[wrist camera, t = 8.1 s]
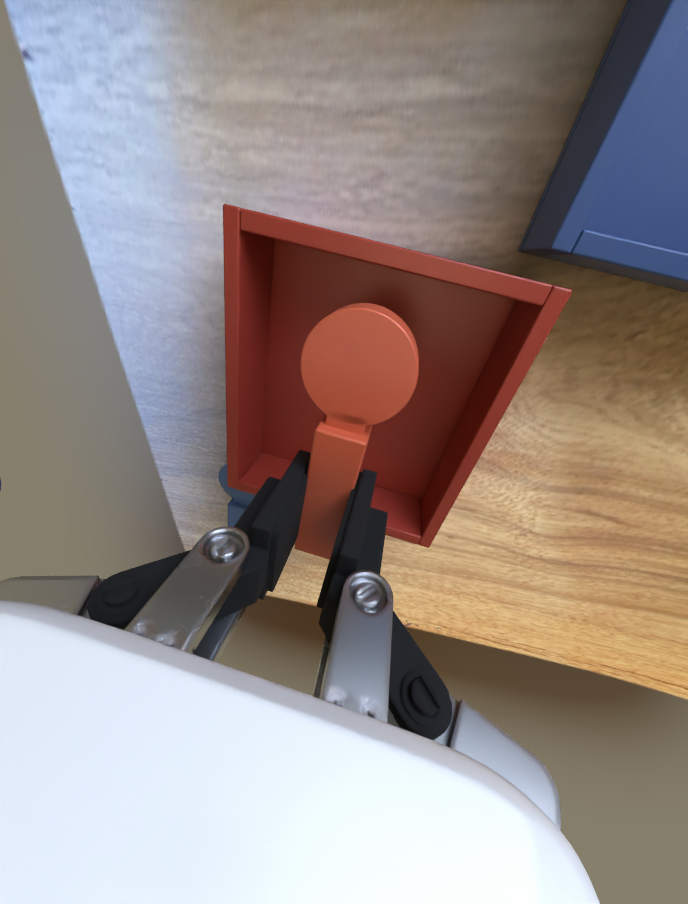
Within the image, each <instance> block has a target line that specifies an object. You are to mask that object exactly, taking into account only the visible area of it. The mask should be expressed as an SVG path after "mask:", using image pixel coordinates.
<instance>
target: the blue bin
mask: <svg viewBox="0 0 688 904" xmlns="http://www.w3.org/2000/svg"><path fill="white" fill-rule="evenodd" d="M518 251H520V252H524V253H528V254H532V255H536V256H540V257H544V258H548V259H553V260H557V261H561V262H565V263H569V264H573V265H577V266H581V267H585V268H590V269H594V270H598V271H602V272H606V273H610V274H614V275H618V276H623V277H627V278H631V279H635V280H639V281H643V282H647V283H651V284H656V285H660V286H664V287H668V288H672V289H676V290H680V291H684V292H688V0H628V2H627V4H626V6H625V9H624V11H623V13H622V15H621V18H620V20H619V22H618V25H617V27H616V29H615V31H614V34H613V36H612V38H611V40H610V43H609V45H608V47H607V50H606V52H605V54H604V56H603V59H602V61H601V63H600V65H599V68H598V70H597V72H596V74H595V77H594V79H593V81H592V84H591V86H590V88H589V90H588V93H587V95H586V97H585V99H584V102H583V104H582V106H581V109H580V111H579V113H578V115H577V118H576V120H575V122H574V124H573V127H572V129H571V131H570V133H569V136H568V138H567V140H566V143H565V145H564V147H563V149H562V152H561V154H560V156H559V158H558V161H557V163H556V165H555V168H554V170H553V172H552V174H551V177H550V179H549V181H548V183H547V186H546V188H545V190H544V192H543V195H542V197H541V199H540V202H539V204H538V206H537V208H536V211H535V213H534V215H533V217H532V220H531V222H530V224H529V227H528V229H527V231H526V233H525V236H524V238H523V240H522V242H521V245H520V247H519V250H518Z"/></svg>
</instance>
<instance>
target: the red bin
mask: <svg viewBox="0 0 688 904" xmlns="http://www.w3.org/2000/svg"><path fill="white" fill-rule="evenodd" d="M223 233H224V296H225V360H226V424H227V486H228V487H231V488H234V489H238V490H240V491H244V492H247V493H250V494H254V495H256V494H257V493H258V491H259V490H260V488H261V487H262V485H263V484H264V483H265V481H266V480H267V479H268V477H274V478H277V479H280V480H281V478H282V476H283V475H284V473H285V472H286V470H287V469H288V467H289V465H290V464H291V462H292V461H293V459H294V458H295V456H296V454H297V453H298V451H299V450H303V451H306V452H310V453H311V450H312V444H313V438H314V433H315V429H316V428H317V426H318V424H319V423H320V421H321V419H322V417H323V416H324V414H325V413H324V412H323V411H321V410H320V409H319V408H318V407H317V406H316V405H315V403H314V402H313V401H312V399H311V398H310V396H309V395H308V393H307V391H306V388H305V386H304V383H303V380H302V375H301V365H300V364H301V354H302V349H303V346H304V343H305V341H306V339H307V337H308V335H309V334H310V332H311V331H312V329H313V328H314V327H315V326H316V325H317V324H318V323H319V322H320V321H321V320H322V319H323V318H325V317H326V316H328V315H329V314H331V313H332V312H334V311H336V310H337V309H339V308H342V307H344V306H347V305H350V304H355V303H371V304H376V305H379V306H382V307H385V308H387V309H389V310H391V311H392V312H394V313H395V314H397V315H398V316H399V317H400V318H401V319H402V320H403V321H404V322H405V323H406V325H407V326H408V327H409V329H410V330H411V332H412V334H413V336H414V338H415V341H416V344H417V348H418V356H419V371H418V380H417V384H416V388H415V390H414V392H413V395H412V397H411V398H410V400H409V402H408V403H407V404H406V405H405V407H404V408H403V409H402V410H401V411H400V412H399V413H397V414H396V415H394V416H393V417H391V418H390V419H388V420H386V421H383V422H381V423H378V424H374V425H372V429H371V433H370V436H369V440H368V444H367V447H366V451H365V454H364V457H363V461H362V464H361V467H360V472H363V469H367V470H370V471H374V472H377V477H376V482H375V487H374V492H373V496H372V501H371V506H370V507H372V508H375V509H379V510H382V511H385V512H388V517H387V524H386V532H385V535H388V536H391V537H395V538H398V539H401V540H404V541H408V542H411V543H414V544H419V545H421V546H424V547H427V548H429V547H430V545H431V543H432V541H433V539H434V538H435V536H436V534H437V532H438V530H439V529H440V527H441V525H442V523H443V522H444V520H445V518H446V516H447V514H448V513H449V511H450V509H451V507H452V506H453V504H454V502H455V500H456V498H457V497H458V495H459V493H460V491H461V489H462V488H463V486H464V484H465V482H466V481H467V479H468V477H469V475H470V473H471V472H472V470H473V468H474V466H475V465H476V463H477V461H478V459H479V457H480V456H481V454H482V452H483V450H484V448H485V447H486V445H487V443H488V441H489V440H490V438H491V436H492V434H493V432H494V431H495V429H496V427H497V425H498V424H499V422H500V420H501V418H502V416H503V415H504V413H505V411H506V409H507V407H508V406H509V404H510V402H511V400H512V399H513V397H514V395H515V393H516V391H517V390H518V388H519V386H520V384H521V383H522V381H523V379H524V377H525V375H526V374H527V372H528V370H529V368H530V367H531V365H532V363H533V361H534V359H535V358H536V356H537V354H538V352H539V350H540V349H541V347H542V345H543V343H544V342H545V340H546V338H547V336H548V334H549V333H550V331H551V329H552V327H553V326H554V324H555V322H556V320H557V318H558V317H559V315H560V313H561V311H562V309H563V308H564V306H565V304H566V302H567V301H568V299H569V297H570V295H571V293H572V290H571V289H567V288H563V287H559V286H555V285H551V284H547V283H543V282H539V281H535V280H531V279H527V278H522V277H518V276H514V275H510V274H506V273H502V272H498V271H494V270H490V269H486V268H482V267H478V266H474V265H470V264H466V263H462V262H458V261H454V260H450V259H446V258H442V257H438V256H434V255H430V254H425V253H421V252H417V251H413V250H409V249H405V248H401V247H397V246H393V245H389V244H385V243H381V242H377V241H373V240H369V239H365V238H361V237H357V236H353V235H349V234H345V233H341V232H337V231H333V230H328V229H324V228H320V227H316V226H312V225H308V224H304V223H300V222H296V221H292V220H288V219H284V218H280V217H276V216H272V215H268V214H264V213H260V212H256V211H252V210H248V209H244V208H239V207H236V206H231V205H227V204H224V205H223Z"/></svg>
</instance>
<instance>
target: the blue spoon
mask: <svg viewBox="0 0 688 904" xmlns="http://www.w3.org/2000/svg"><path fill="white" fill-rule="evenodd" d="M219 481H220V484H221V486H222V488H223V489H224V490H225V492H226V493H227V494H229V495H230V496H231V497H233V499H232V500H231V501H230V502H229V504H228V527H229V526H230V527H234V526H235V524H236V523H237V521H238V520H239V518H240V517H241V516H242V514H243V513H244V511H245V510H246V508H247V507H248V506H249V504H250V503H251V501H252V500H253V498H254V497H255V495H254V494H250V493H247V492H244V491H240V490H238V489H234V488H231V487H228V486H227V463H226V464H225V465H224V466H223V467H222V468H221V470H220V472H219Z"/></svg>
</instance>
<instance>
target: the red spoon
mask: <svg viewBox="0 0 688 904" xmlns="http://www.w3.org/2000/svg"><path fill="white" fill-rule="evenodd" d="M300 365H301V375H302V380H303V383H304V386H305V388H306V391H307V393H308V395H309V396H310V398H311V399H312V401H313V402H314V403H315V405H316V406H317V407H318V408H319V409H320V410H321V411H323V412H324V413H325V414H324V416H323V417H322V419H321V421H320V423H319V424H318V426H317V428H316V429H315V433H314V438H313V444H312V450H311V456H310V461H309V467H308V473H307V476H308V482H307V487H306V493H305V498H304V504H303V510H302V515H301V521H300V527H299V532H298V537H297V539H296V541H295V549H297V550H300V551H304V552H307V553H310V554H313V555H317V556H320V557H323V558H326V559H329V560H330V557H331V554H332V551H333V547H334V544H335V541H336V537H337V534H338V531H339V528H340V524H341V521H342V518H343V515H344V511H345V508H346V505H347V502H348V498H349V495H350V492H351V489H354V488H355V484H356V481H357V478H358V474H359V471H360V467H361V464H362V461H363V457H364V454H365V451H366V447H367V444H368V440H369V436H370V433H371V429H372V425H374V424H378V423H381V422H383V421H386V420H388V419H390V418H391V417H393V416H394V415H396V414H397V413H399V412H400V411H401V410H402V409H403V408H404V407H405V405H406V404H407V403H408V402H409V400H410V398H411V397H412V395H413V392H414V390H415V388H416V384H417V380H418V371H419V356H418V348H417V344H416V341H415V338H414V336H413V334H412V332H411V330H410V329H409V327H408V326H407V325H406V323H405V322H404V321H403V320H402V319H401V318H400V317H399V316H398V315H397V314H395V313H394V312H392V311H391V310H389V309H387V308H385V307H382V306H379V305H376V304H371V303H355V304H350V305H347V306H344V307H342V308H339V309H337V310H336V311H334V312H332V313H331V314H329V315H328V316H326V317H325V318H323V319H322V320H321V321H320V322H319V323H318V324H317V325H316V326H315V327H314V328H313V329H312V331H311V332H310V334H309V335H308V337H307V339H306V341H305V343H304V346H303V349H302V354H301V364H300Z"/></svg>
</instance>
